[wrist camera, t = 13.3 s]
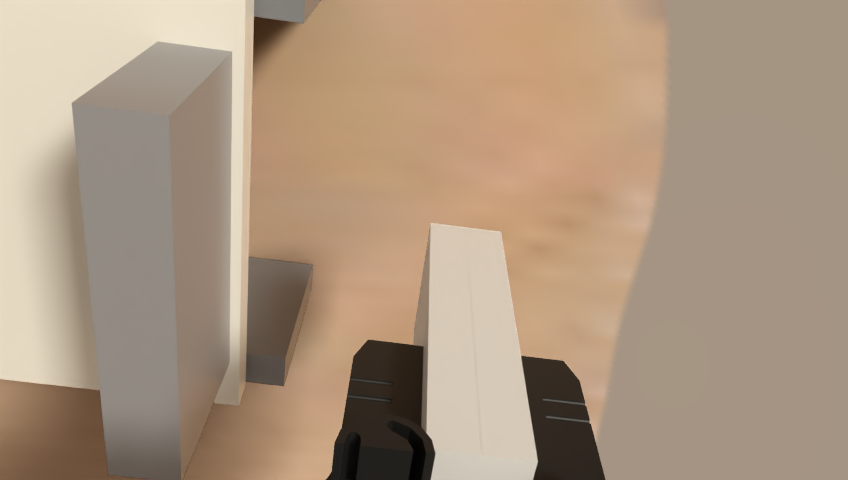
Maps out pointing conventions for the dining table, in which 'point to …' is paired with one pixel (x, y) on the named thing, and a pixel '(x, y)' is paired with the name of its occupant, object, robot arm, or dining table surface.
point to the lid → (128, 212)
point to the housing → (276, 270)
